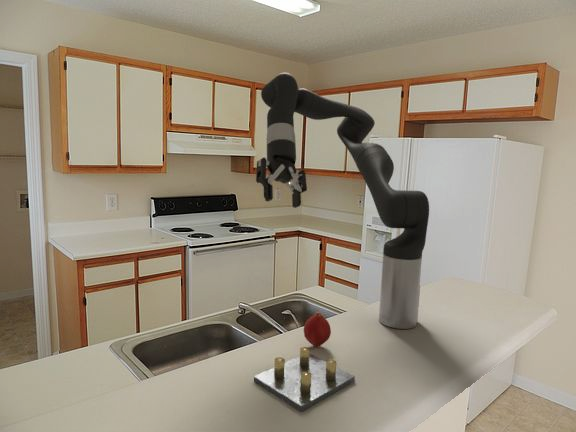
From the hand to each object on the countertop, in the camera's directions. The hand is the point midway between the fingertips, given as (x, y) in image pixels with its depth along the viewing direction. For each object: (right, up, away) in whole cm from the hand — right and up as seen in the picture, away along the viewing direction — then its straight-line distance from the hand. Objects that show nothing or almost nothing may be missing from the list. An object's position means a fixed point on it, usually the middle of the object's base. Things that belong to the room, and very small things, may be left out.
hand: (282, 203), depth 102 cm
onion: (+7, -31, -13) cm, 35 cm away
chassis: (+4, -33, -27) cm, 43 cm away
